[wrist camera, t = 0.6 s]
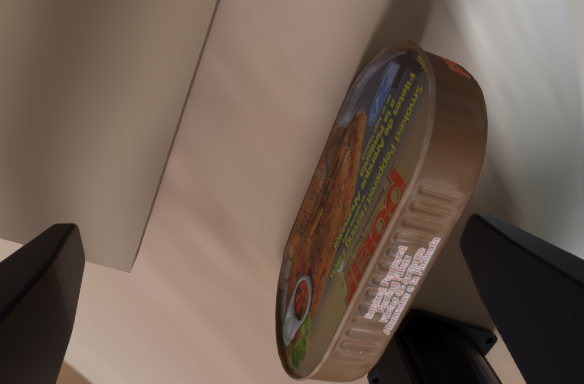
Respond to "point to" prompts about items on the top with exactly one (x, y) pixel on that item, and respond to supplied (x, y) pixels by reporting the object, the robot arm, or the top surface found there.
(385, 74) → the tin
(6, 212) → the stand
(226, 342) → the top surface
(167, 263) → the top surface
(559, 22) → the top surface
